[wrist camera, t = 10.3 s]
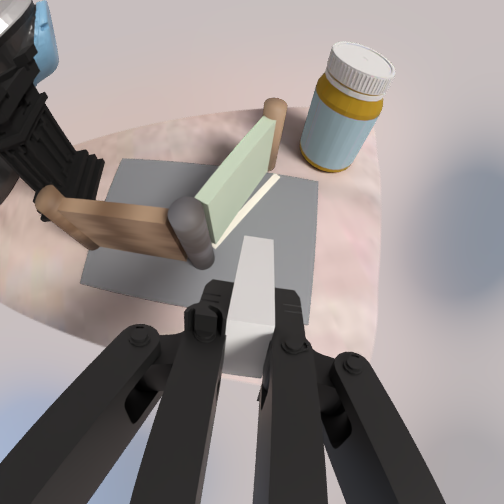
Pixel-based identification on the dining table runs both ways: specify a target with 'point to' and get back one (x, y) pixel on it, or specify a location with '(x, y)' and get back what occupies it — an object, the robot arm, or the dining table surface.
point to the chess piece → (40, 137)
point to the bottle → (345, 105)
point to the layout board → (226, 250)
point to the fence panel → (242, 170)
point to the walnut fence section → (133, 226)
